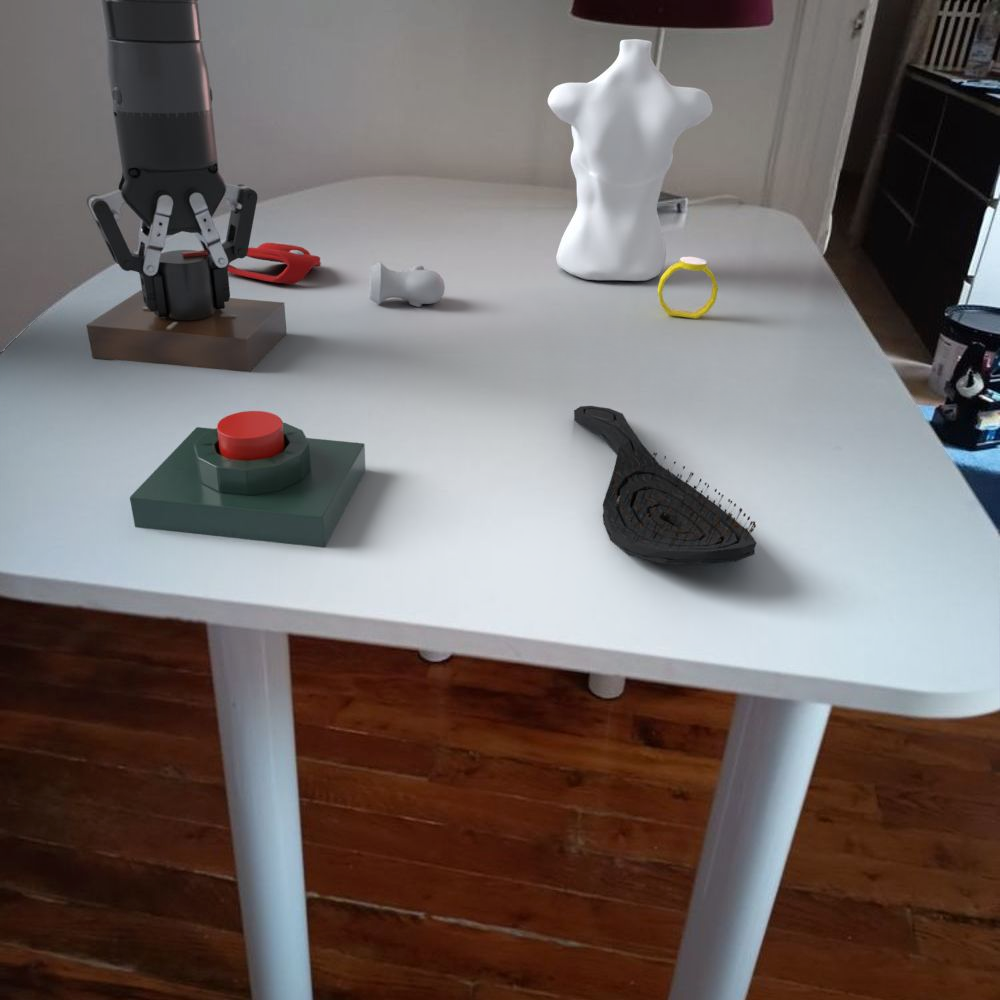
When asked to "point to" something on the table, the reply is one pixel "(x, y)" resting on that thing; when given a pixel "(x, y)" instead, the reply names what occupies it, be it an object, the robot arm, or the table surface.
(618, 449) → the hairbrush
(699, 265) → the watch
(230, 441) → the button
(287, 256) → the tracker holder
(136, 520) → the switch block
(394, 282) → the pale two-lobed sculpture
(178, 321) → the dimmer panel
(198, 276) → the dimmer knob
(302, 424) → the table surface
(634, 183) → the torso sculpture
